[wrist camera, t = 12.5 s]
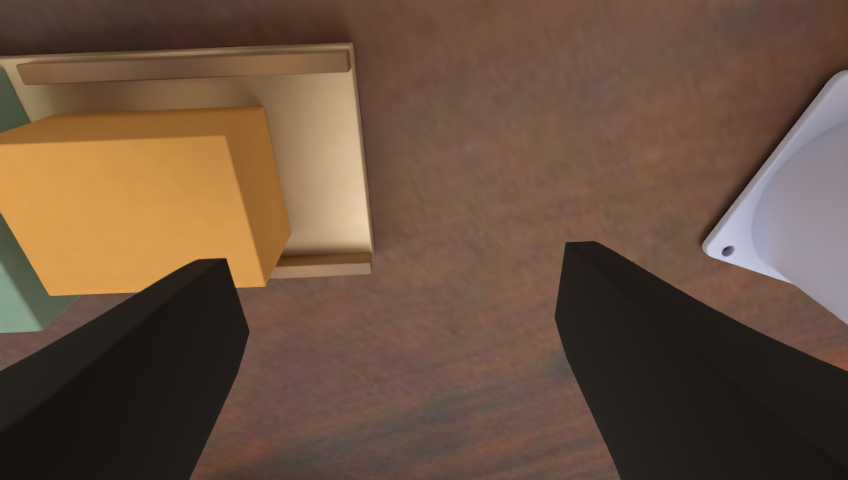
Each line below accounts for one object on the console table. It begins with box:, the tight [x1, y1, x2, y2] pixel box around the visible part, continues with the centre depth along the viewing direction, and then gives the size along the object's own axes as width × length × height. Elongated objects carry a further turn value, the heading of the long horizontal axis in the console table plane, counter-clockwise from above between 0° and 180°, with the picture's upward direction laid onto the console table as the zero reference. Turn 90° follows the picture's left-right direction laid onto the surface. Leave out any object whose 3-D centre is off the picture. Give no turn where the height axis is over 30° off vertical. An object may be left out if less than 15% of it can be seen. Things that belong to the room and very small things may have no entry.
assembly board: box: [0, 42, 375, 279], centre depth 16 cm, size 17×8×2 cm, turn 92°
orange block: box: [0, 106, 291, 296], centre depth 14 cm, size 7×5×4 cm
